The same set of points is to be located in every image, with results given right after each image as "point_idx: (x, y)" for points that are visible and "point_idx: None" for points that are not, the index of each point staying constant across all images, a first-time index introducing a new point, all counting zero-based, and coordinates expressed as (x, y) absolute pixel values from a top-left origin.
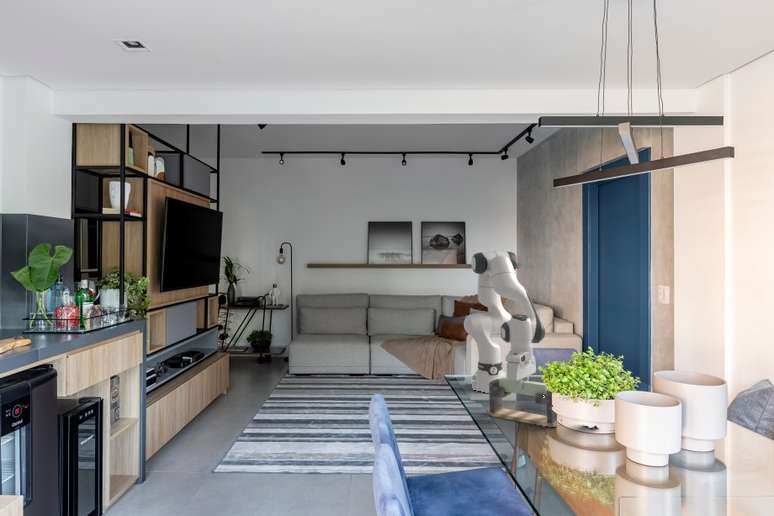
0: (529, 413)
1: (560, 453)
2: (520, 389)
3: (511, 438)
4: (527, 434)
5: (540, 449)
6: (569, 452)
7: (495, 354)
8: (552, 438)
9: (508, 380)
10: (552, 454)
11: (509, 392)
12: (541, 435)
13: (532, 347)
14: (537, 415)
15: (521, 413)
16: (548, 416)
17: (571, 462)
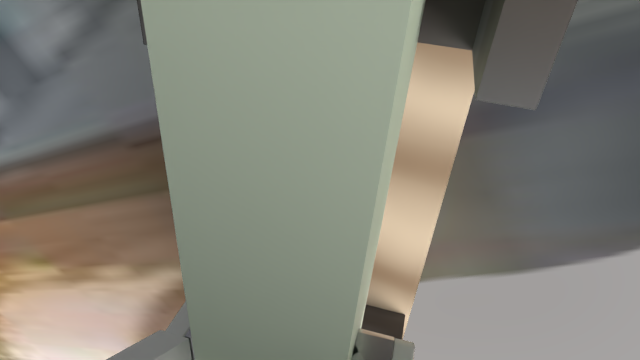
0: (439, 169)
1: (59, 314)
2: None
3: (26, 138)
4: (128, 196)
5: (33, 260)
6: (88, 335)
7: None
8: (162, 291)
9: (179, 207)
10: (32, 294)
11: (436, 43)
12: (162, 252)
13: None
14: (410, 226)
15: (410, 111)
16: None
17: (30, 336)
